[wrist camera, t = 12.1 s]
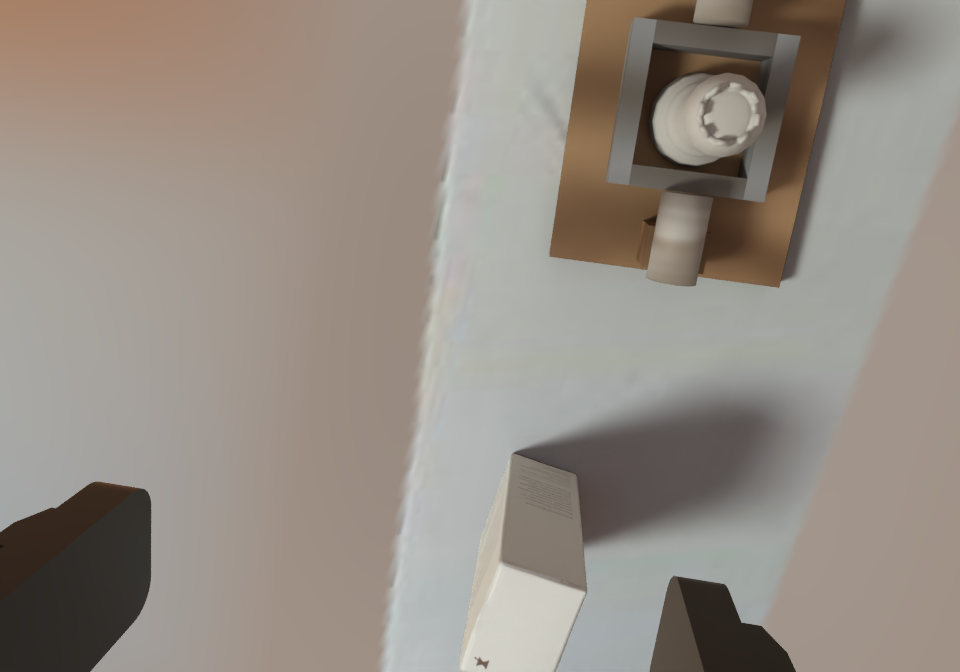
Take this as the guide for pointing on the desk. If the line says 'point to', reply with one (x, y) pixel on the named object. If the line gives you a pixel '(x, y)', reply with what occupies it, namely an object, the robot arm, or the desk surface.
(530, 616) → the skincare box
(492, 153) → the desk surface
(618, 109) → the frame on base plate
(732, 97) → the rook chess piece
